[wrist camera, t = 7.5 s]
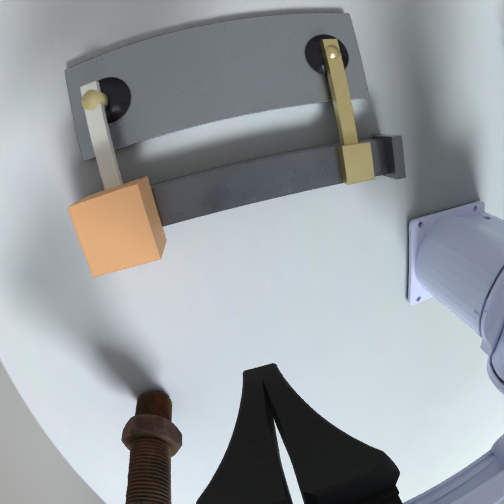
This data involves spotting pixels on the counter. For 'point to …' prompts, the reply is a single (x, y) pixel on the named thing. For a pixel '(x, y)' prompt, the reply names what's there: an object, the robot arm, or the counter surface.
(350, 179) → the rail
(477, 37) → the counter surface
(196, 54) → the hole plate
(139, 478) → the bolt
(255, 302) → the counter surface
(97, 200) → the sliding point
